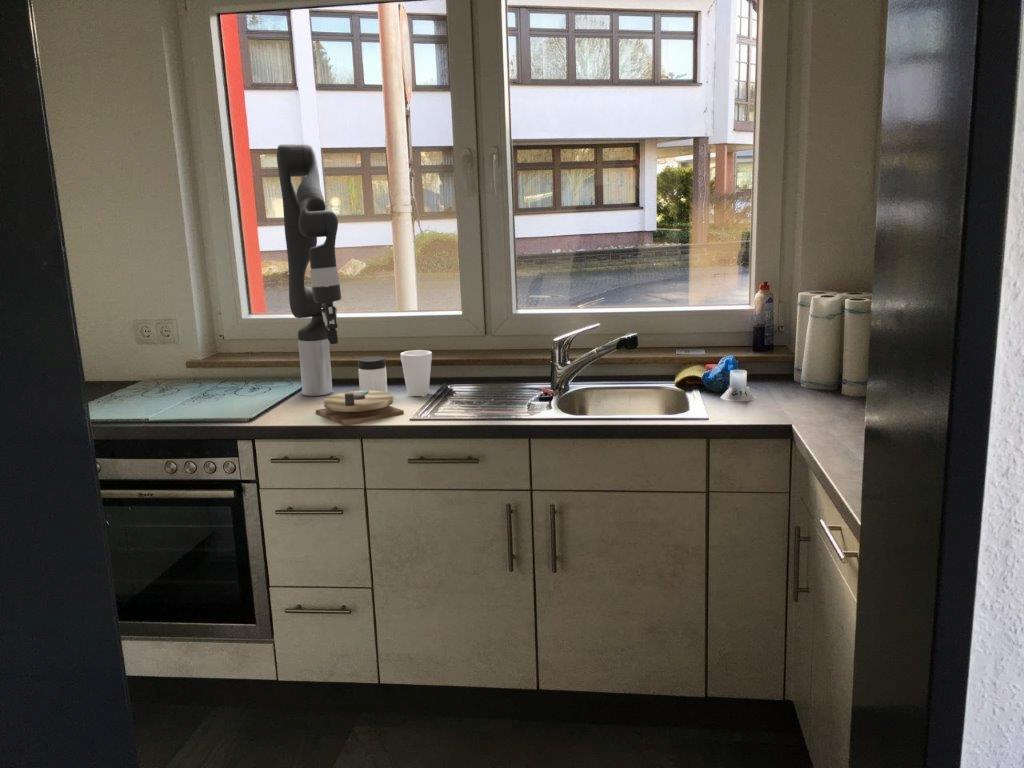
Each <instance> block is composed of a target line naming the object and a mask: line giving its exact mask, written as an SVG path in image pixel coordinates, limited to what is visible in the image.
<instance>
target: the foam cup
mask: <svg viewBox="0 0 1024 768" xmlns="http://www.w3.org/2000/svg"><path fill="white" fill-rule="evenodd" d="M432 360H433V352H432V351H430V350H423V349H415V350H406V351H403V352H400V362H401V366H402V370H403V377H404V382H405V387H406V388H405V389H406V393H407V396H408V395H409V396H408V397H411V396H422V397H424V396H423V395H426V394H428V395H429V392H430V381H431V369H432V368H431V367H432ZM426 396H427V395H426Z"/></svg>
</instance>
